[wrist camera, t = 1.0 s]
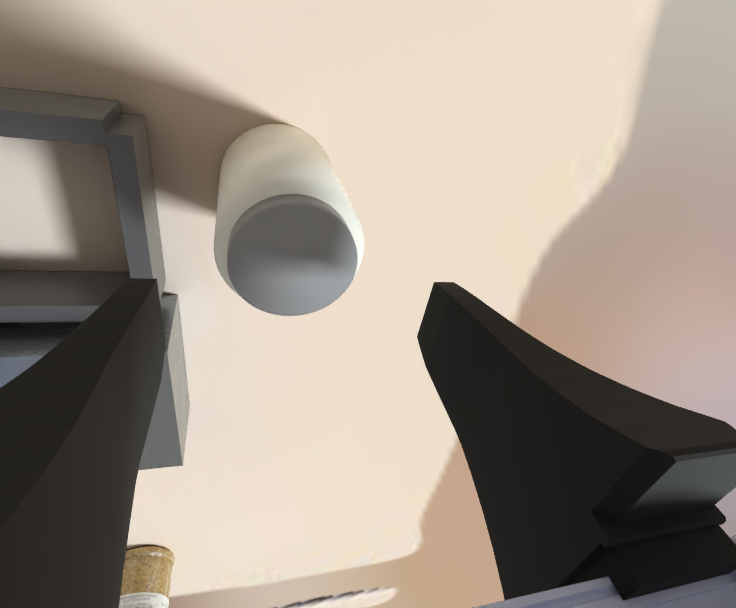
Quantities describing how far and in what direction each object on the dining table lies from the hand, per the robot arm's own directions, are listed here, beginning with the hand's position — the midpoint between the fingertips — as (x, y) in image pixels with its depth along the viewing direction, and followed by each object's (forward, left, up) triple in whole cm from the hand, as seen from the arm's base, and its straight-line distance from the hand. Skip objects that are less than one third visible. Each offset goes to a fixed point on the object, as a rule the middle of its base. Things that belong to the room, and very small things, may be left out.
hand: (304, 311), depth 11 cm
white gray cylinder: (0, 0, -9) cm, 9 cm away
